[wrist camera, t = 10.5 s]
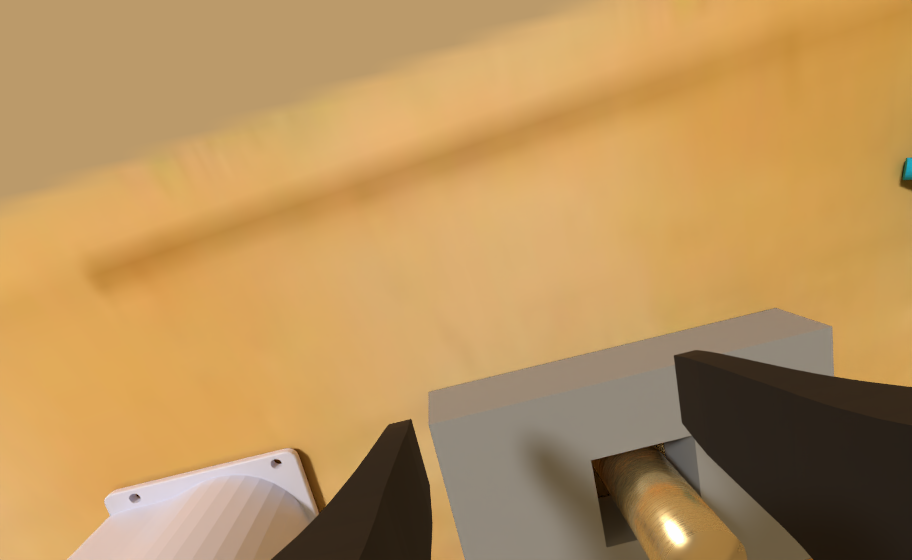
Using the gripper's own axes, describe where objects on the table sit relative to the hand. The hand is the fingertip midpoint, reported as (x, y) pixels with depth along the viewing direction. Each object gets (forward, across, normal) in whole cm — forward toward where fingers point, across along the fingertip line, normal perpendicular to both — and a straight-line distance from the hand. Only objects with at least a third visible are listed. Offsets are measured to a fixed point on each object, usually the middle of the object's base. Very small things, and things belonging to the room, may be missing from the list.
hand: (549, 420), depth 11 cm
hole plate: (+9, -5, +9) cm, 14 cm away
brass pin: (+9, -5, +9) cm, 14 cm away
